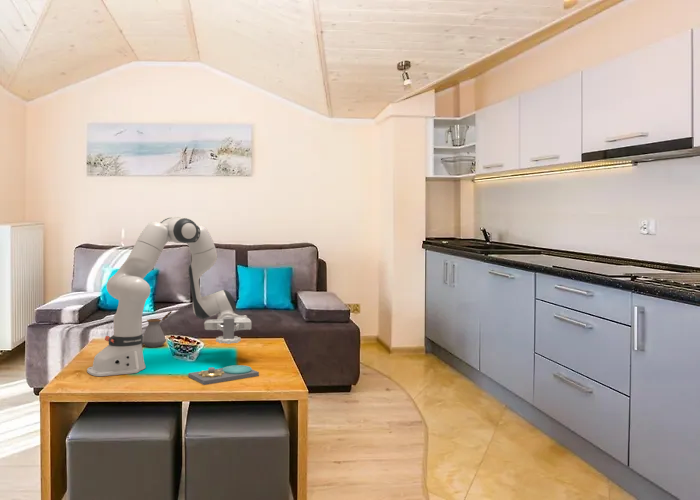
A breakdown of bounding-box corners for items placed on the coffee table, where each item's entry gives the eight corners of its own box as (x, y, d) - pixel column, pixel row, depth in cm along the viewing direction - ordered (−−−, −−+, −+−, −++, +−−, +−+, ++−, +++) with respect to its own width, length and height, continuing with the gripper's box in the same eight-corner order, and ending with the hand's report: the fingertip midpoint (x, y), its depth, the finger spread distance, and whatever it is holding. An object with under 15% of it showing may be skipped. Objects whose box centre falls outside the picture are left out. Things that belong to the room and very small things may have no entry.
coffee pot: (157, 349, 291) (157, 318, 290) (136, 347, 294) (136, 316, 294) (181, 340, 312) (181, 311, 311) (161, 339, 315) (162, 310, 314)
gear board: (204, 384, 232) (204, 374, 232) (188, 376, 243) (188, 366, 242) (258, 375, 247) (258, 365, 247) (241, 368, 258) (241, 359, 258)
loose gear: (216, 344, 256) (216, 320, 255) (215, 339, 266) (216, 316, 266) (241, 343, 258) (241, 320, 258) (239, 338, 268) (240, 316, 268)
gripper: (203, 315, 272) (203, 320, 258) (250, 315, 277) (252, 320, 263) (203, 329, 272) (203, 335, 259) (249, 329, 277) (252, 334, 264)
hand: (228, 327), depth 261 cm, fingers closed on loose gear, 4 cm apart
